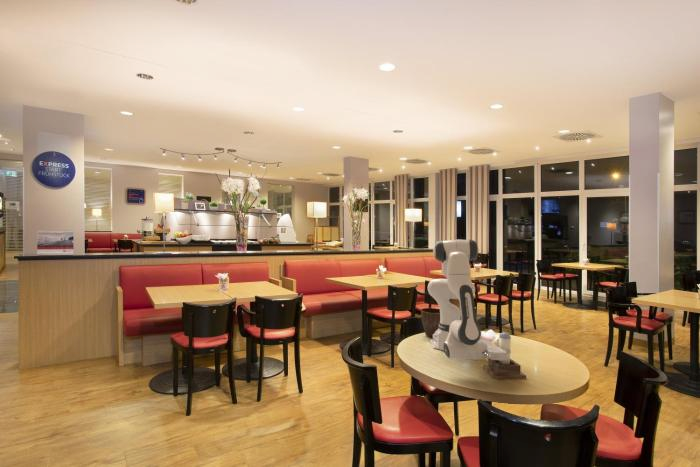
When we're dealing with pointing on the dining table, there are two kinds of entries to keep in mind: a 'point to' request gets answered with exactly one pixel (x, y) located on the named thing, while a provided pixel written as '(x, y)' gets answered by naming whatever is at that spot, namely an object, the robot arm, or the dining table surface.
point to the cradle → (504, 370)
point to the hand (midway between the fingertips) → (506, 349)
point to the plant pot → (430, 320)
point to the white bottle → (504, 346)
